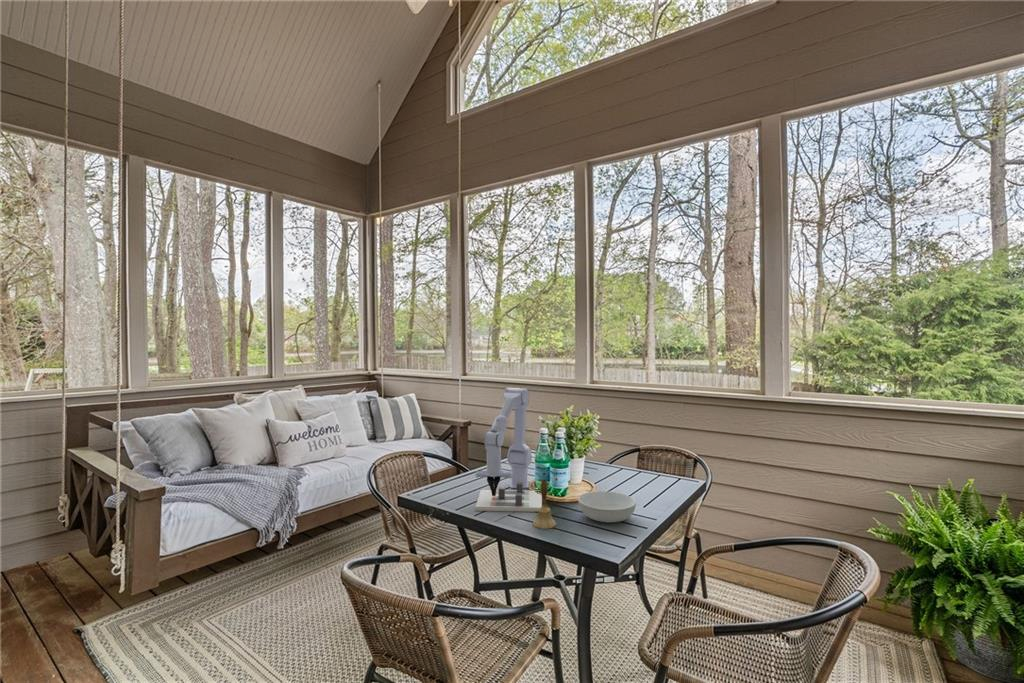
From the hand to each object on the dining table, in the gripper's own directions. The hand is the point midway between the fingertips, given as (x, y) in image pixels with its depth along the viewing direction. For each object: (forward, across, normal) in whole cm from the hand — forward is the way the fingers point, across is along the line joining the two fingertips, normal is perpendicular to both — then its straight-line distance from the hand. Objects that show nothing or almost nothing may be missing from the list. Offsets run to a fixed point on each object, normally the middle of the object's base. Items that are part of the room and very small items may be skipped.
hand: (493, 495), depth 192 cm
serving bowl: (+3, +43, -15) cm, 45 cm away
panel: (+3, +7, 0) cm, 7 cm away
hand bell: (+3, +20, -22) cm, 30 cm away
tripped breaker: (+1, +3, 0) cm, 3 cm away
